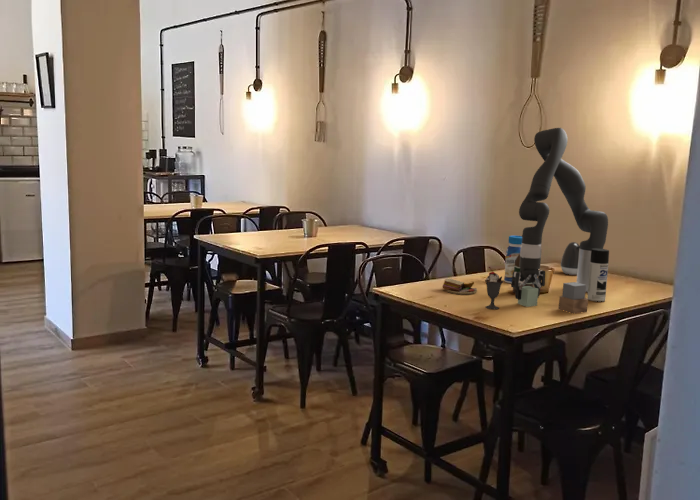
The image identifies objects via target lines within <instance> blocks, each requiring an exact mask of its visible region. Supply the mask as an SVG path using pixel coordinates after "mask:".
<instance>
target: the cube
mask: <svg viewBox="0 0 700 500" xmlns="http://www.w3.org/2000/svg"><path fill="white" fill-rule="evenodd" d="M576 282H577V281H575V282H563V285H562V294H561V296H562V297H566V298H569V299H572V300H577V299H585V298H586V292H585V290H586V285H584V284H580V283H576Z"/></svg>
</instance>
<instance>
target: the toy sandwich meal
mask: <svg viewBox="0 0 700 500" xmlns="http://www.w3.org/2000/svg"><path fill="white" fill-rule="evenodd" d="M474 284H475V282H474V281H473V282H469V283H466V282H464V281H460V280H457V279H453V278H446V279H444V282H443V284H442V289H444V290H445V291H447V293H449V294H454V295H461V296H467V295H468V296H469V295H474V294H476V292H478V288H476V287H475V288H474V287H473V286H474Z"/></svg>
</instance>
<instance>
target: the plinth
mask: <svg viewBox="0 0 700 500" xmlns="http://www.w3.org/2000/svg"><path fill="white" fill-rule="evenodd" d="M588 305H589V300H588V298H587V297H585V299H577V300H572V299H569V298H566V297H562V295H560V296H559V299H558V310H560V311H563V310H564V311H563V312H566V311H567V312H566V313H569V312H570V314H572V313H573V315H575V314H581V312H583V313H587V312H588ZM574 313H575V314H574Z"/></svg>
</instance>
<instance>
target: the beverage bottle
mask: <svg viewBox="0 0 700 500" xmlns="http://www.w3.org/2000/svg"><path fill="white" fill-rule="evenodd" d="M508 244H509V245H508V247H507V248H506V250H505V252H506V255H505V257H504V259H505V265H504V266H505V267H504V278H503V282H505V283H508V284H511V283H512V275H513V272H514V265H515V260H516V258H517V257H518V255H519V254H520V251H521V245H522V235H509V236H508Z"/></svg>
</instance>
